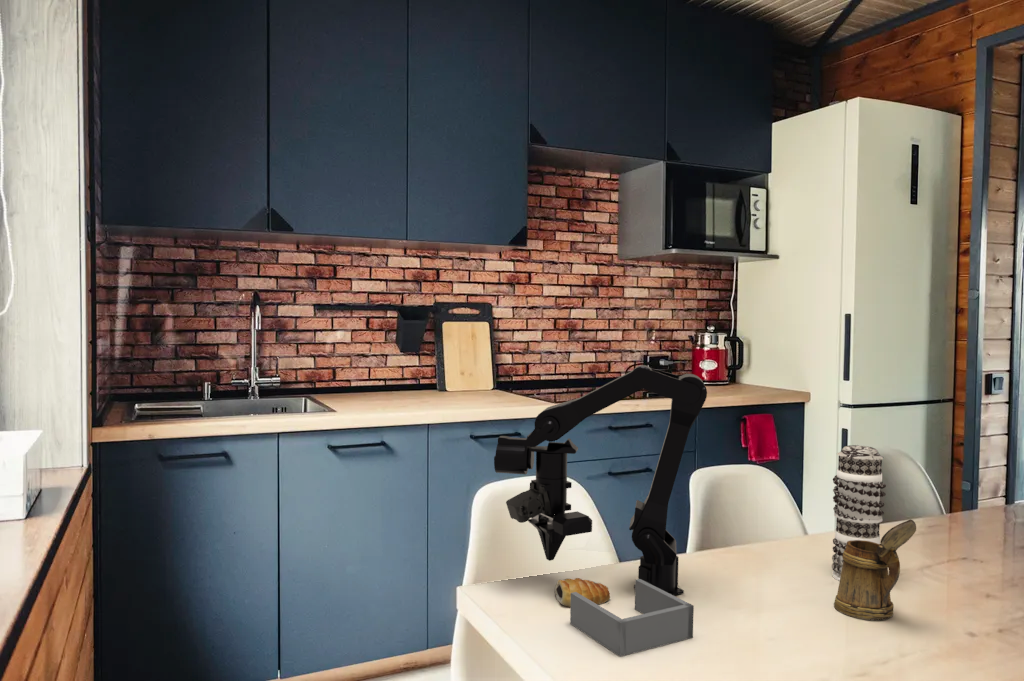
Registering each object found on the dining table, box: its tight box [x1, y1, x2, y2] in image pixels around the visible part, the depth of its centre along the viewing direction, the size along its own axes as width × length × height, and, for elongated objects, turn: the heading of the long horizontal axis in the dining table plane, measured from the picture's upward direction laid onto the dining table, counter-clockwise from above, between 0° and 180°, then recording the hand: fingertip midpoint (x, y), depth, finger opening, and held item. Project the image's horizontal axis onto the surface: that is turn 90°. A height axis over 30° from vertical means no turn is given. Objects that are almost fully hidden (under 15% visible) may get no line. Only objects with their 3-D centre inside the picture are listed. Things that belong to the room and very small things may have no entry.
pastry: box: [554, 577, 611, 608], centre depth 132 cm, size 9×7×4 cm
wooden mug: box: [833, 519, 917, 621], centre depth 127 cm, size 9×14×18 cm, turn 20°
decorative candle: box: [831, 444, 887, 582], centre depth 145 cm, size 9×9×25 cm
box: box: [569, 578, 695, 657], centre depth 120 cm, size 14×13×5 cm
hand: (550, 559), depth 141 cm, fingers closed
